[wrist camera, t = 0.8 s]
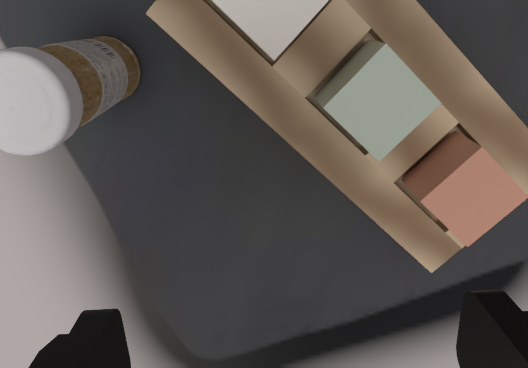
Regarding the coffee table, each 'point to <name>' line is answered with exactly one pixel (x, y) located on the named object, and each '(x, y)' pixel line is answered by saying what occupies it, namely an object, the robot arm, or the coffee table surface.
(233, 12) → the cream button
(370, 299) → the coffee table surface
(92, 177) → the coffee table surface
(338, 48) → the wooden slotted tray
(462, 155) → the terracotta button
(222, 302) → the coffee table surface
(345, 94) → the sage button
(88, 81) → the sprinkles bottle
